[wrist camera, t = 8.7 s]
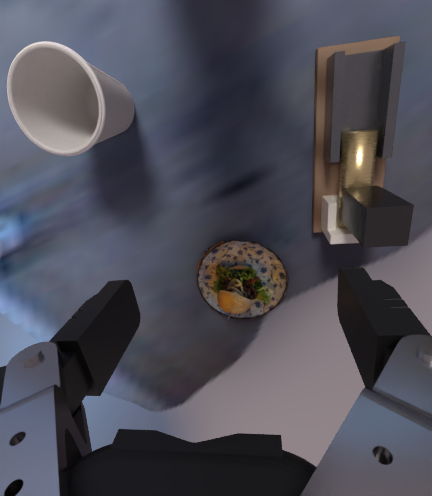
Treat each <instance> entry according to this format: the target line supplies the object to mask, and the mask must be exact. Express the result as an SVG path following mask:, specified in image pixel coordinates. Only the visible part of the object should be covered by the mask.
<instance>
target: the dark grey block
mask: <svg viewBox="0 0 432 496" xmlns="http://www.w3.org/2000/svg"><path fill="white" fill-rule="evenodd" d="M377 138H378V130H360V131H350V132H344V133H342V151H341V169H340V186H339V204H338V222H337V223H338V225H340V226H342V227H346V228H348V230H349V231H350V232H351V233H352V234H353V236H354V237H355V238H356V239H357V240H358V242H359V243H360V244H361V245H362V246H363V247H383V246H406V245H408V239H409V233H410V226H411V220H412V213H413V207H414V205H413V204H411V203H409V202H407V201H405V200H404V199H402V198H400V197H398V196H396V195H394V194H393V193H391V192H389V191H387V190H385V189H384V188H382V187H380V186H373V178H374V168H375V158H376V148H377Z"/></svg>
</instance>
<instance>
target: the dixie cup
mask: <svg viewBox="0 0 432 496" xmlns="http://www.w3.org/2000/svg"><path fill="white" fill-rule="evenodd" d="M7 94H8V100H9V104H10V108H11V110H12V113H13V115H14V118H15V120H16V121H17V123H18V125H19V126H20V128H21V129H22V131H23V132H24V133H25V134H26V136H27V137H28V138H29V139H30V140H31V141H32V142H34V143H35V144H36V145H37V146H39V147H40V148H42V149H44V150H45V151H48V152H50V153H52V154H56V155H60V156H74V155H78V154H81V153H83V152H85V151H87V150H89V149H90V148H91V147H92V146H93V145H95V144H97V143H99V142H102V141H104V140H106V139H108V138H111V137H113V136H115V135H117V134H120V133H122V132H124V131H125V130H127V129H128V128H129V126H130V125H131V123H132V121H133V118H134V113H135V108H134V102H133V99H132V96H131V94H130V93H129V91H128V90H127V88H126V87H125V86H124V85H123V84H122V83H120V82H119V81H117V80H116V79H114V78H112V77H111V76H109V75H107V74H106V73H104V72H103V71H101V70H99V69H98V68H96V67H94V66H93V65H91V64H89V63H88V62H86V61H85V60H84V59H83V58H82V57H81V56H80V55H79V54H77V53H76V52H75V51H73V50H72V49H70V48H68V47H66V46H64V45H61V44H58V43H54V42H37V43H33V44H31V45H29V46H27V47H25V48H24V49H23V50H21V51H20V52H19V53H18V55H17V56H16V57H15V59H14V60H13V62H12V64H11V67H10V69H9V73H8V79H7Z"/></svg>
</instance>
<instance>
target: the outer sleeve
mask: <svg viewBox="0 0 432 496" xmlns="http://www.w3.org/2000/svg"><path fill="white" fill-rule="evenodd" d="M404 50H405V42H400V43H394V44H392V45H391V46H389V47H387V48H385V49H383V50H378V51H371V52H364V53H357V54H350V55H345V51H338V52H334V53H333V54H332V55H331V56H330V57H329V58H327V64H326V93H325V123H324V153H323V159H325V160H327V161H328V162H330V163H333V162H339V158H341V151H342V133H344V132H350V131H360V130H378V138H377V148H376V156H377V157H380V158H389V157H392V150H393V142H394V133H395V125H396V117H397V108H398V100H399V92H400V83H401V75H402V66H403V58H404Z"/></svg>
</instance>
